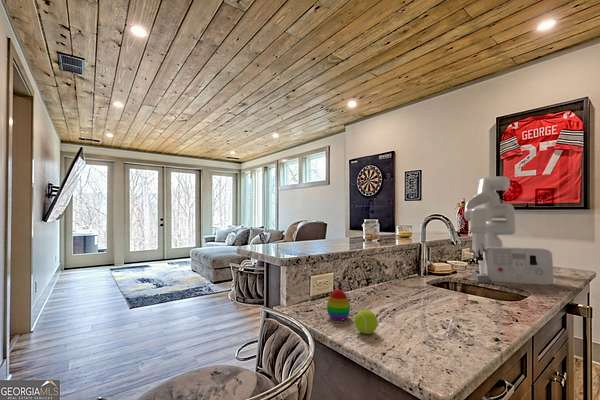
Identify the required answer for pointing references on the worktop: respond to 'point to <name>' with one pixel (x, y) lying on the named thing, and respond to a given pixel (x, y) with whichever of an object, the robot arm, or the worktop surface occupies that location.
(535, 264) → the rounded white slab
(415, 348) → the worktop surface
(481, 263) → the breaker handle
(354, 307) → the worktop surface
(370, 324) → the tennis ball
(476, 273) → the breaker block
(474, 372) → the worktop surface
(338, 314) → the decorative egg
